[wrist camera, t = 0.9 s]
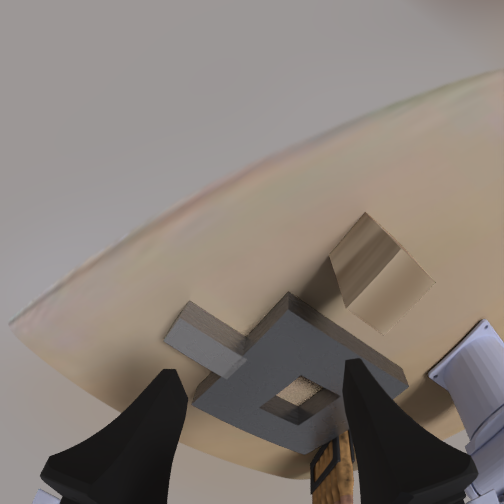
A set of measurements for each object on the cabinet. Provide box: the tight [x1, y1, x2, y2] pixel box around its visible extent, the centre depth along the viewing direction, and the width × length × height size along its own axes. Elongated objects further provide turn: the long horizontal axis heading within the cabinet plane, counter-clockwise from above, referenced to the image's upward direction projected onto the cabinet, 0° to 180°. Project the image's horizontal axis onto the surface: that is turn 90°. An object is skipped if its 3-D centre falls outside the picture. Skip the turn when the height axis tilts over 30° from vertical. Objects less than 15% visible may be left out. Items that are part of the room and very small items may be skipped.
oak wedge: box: [329, 212, 436, 336], centre depth 17 cm, size 3×4×7 cm
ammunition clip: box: [310, 429, 355, 504], centre depth 24 cm, size 11×2×12 cm, turn 173°
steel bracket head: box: [164, 292, 409, 455], centre depth 24 cm, size 20×14×2 cm
